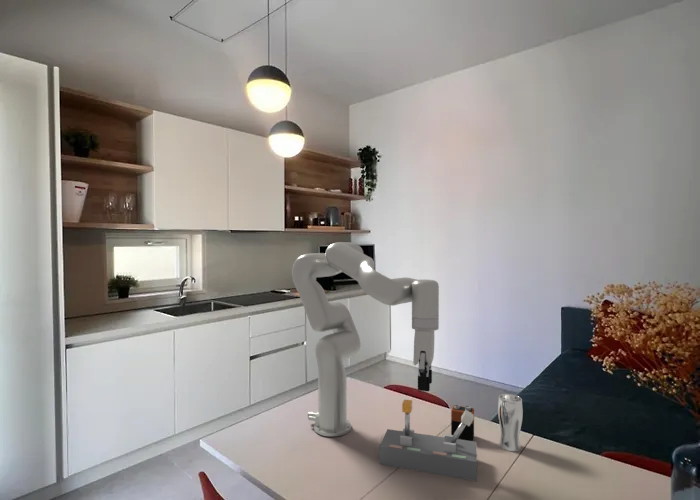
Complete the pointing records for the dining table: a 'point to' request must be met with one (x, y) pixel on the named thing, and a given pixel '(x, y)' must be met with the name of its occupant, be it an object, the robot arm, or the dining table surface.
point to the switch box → (429, 454)
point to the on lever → (462, 425)
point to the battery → (456, 421)
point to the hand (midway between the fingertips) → (424, 385)
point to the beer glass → (510, 421)
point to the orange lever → (407, 415)
